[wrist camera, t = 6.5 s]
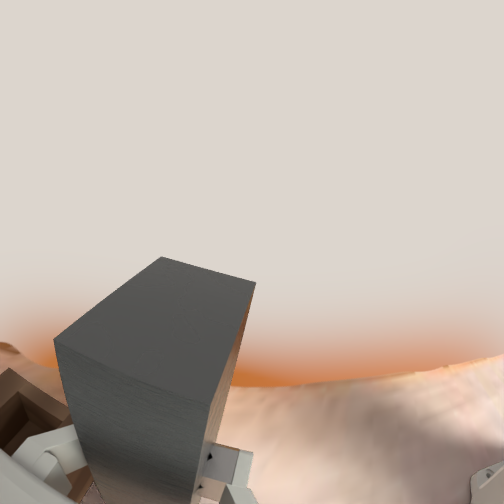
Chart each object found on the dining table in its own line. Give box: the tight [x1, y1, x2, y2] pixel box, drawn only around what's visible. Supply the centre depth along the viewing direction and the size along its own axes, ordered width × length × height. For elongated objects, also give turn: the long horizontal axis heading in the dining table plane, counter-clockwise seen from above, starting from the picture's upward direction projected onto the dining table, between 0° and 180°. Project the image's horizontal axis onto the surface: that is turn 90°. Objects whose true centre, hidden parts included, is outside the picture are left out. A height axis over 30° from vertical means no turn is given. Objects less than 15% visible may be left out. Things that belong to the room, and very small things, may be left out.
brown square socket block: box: [0, 368, 94, 504], centre depth 12 cm, size 9×9×4 cm
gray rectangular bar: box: [53, 257, 256, 504], centre depth 9 cm, size 3×5×16 cm, turn 171°
